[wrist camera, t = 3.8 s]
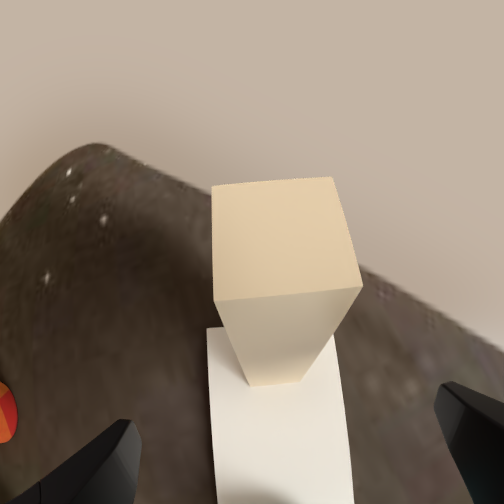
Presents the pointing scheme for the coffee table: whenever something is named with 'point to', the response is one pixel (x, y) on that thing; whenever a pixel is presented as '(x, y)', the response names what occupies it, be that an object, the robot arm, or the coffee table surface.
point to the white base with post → (280, 342)
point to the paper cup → (7, 414)
